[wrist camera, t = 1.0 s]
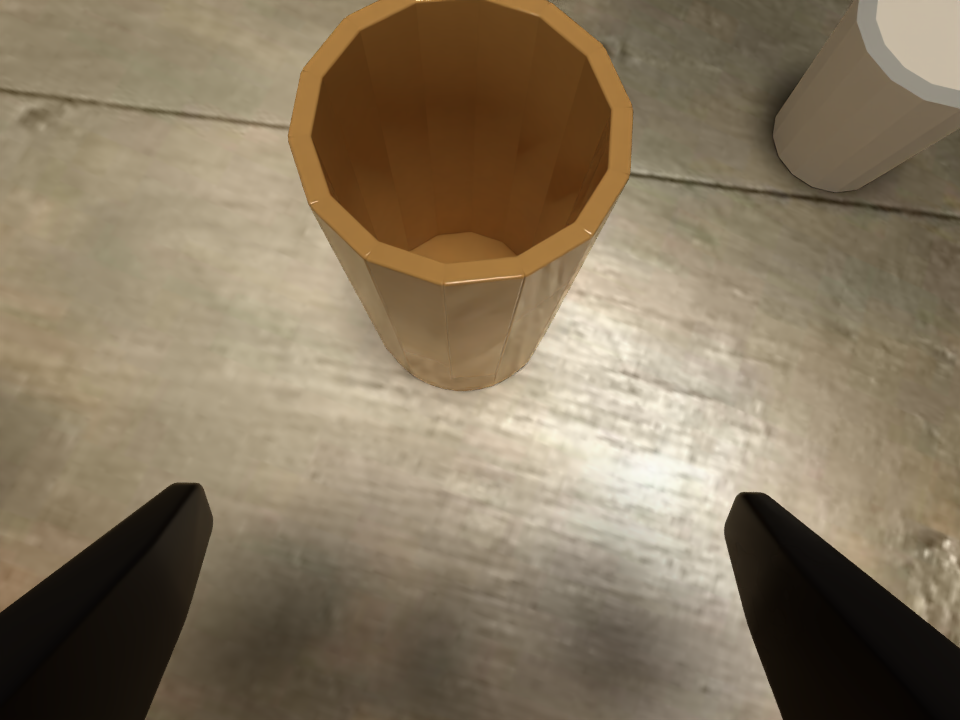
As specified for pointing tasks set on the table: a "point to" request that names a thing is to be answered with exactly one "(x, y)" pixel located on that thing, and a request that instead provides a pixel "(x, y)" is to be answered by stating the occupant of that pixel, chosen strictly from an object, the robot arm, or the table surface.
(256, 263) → the table surface
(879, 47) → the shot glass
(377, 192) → the hollow tan tube
